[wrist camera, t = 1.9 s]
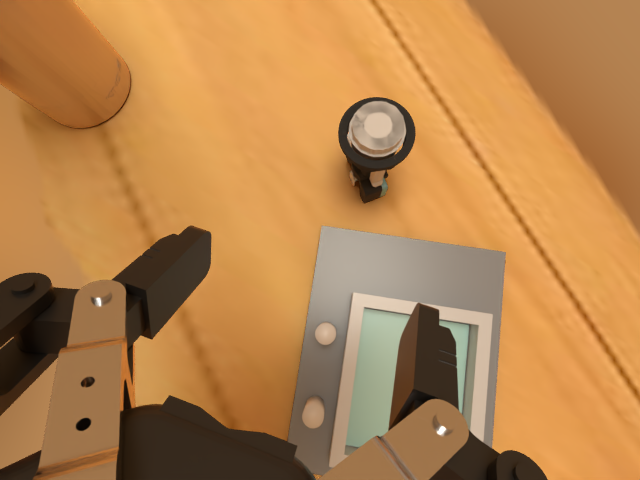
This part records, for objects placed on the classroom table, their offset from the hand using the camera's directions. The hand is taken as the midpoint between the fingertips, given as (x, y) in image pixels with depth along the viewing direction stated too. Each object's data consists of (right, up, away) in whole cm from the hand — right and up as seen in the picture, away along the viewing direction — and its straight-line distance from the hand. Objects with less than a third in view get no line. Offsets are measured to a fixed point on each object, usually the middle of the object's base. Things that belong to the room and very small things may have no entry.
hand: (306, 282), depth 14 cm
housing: (+7, -8, +18) cm, 21 cm away
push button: (+5, +8, +21) cm, 23 cm away
